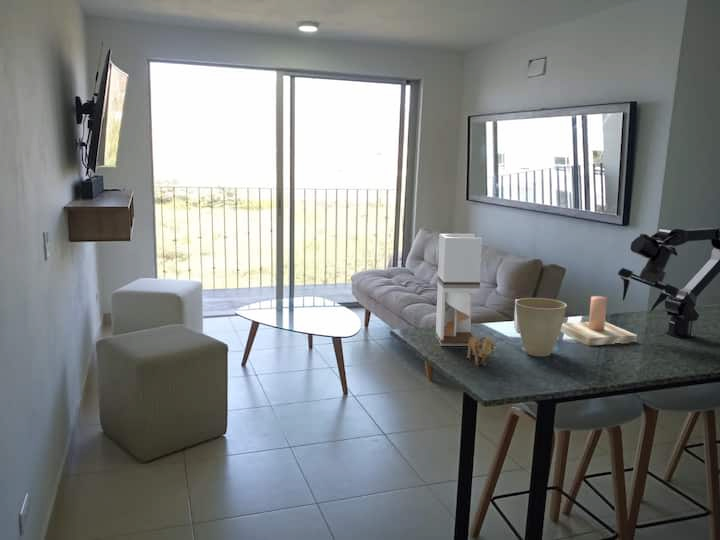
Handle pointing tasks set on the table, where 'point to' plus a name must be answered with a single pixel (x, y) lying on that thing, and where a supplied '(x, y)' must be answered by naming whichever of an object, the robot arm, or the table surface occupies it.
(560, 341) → the table surface
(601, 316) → the peach capsule
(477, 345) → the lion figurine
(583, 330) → the birch base plate
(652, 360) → the table surface
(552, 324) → the plant pot
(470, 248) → the white two-tier tower
